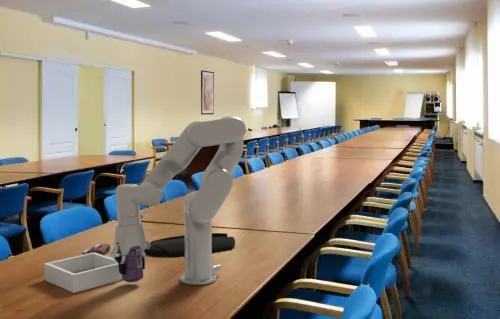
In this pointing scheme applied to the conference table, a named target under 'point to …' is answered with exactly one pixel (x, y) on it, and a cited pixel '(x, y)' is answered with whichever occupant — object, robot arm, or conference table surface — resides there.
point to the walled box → (82, 272)
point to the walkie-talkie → (98, 249)
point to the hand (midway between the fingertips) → (132, 270)
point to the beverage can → (133, 265)
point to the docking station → (177, 245)
